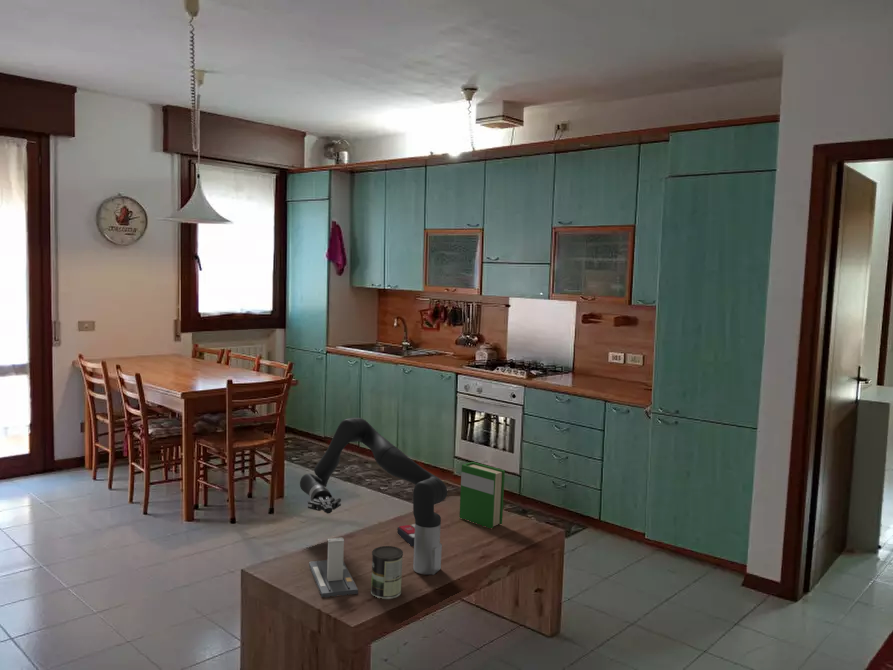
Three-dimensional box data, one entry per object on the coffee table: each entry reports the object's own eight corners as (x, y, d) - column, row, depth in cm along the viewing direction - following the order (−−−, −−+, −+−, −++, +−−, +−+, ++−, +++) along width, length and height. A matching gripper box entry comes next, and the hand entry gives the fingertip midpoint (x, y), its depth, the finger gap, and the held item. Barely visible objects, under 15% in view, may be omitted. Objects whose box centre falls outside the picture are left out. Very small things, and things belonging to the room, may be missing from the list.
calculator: (421, 522, 302) (437, 533, 288) (421, 532, 302) (437, 543, 289) (397, 525, 297) (412, 536, 283) (396, 535, 297) (411, 547, 284)
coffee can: (367, 597, 239) (369, 556, 238) (374, 584, 249) (375, 544, 248) (398, 600, 238) (400, 559, 237) (403, 587, 248) (405, 547, 247)
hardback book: (502, 525, 312) (504, 470, 309) (491, 529, 306) (494, 473, 304) (469, 514, 323) (472, 461, 321) (459, 518, 318) (461, 464, 315)
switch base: (309, 565, 262) (309, 560, 262) (342, 562, 266) (342, 557, 266) (321, 597, 238) (321, 591, 238) (357, 593, 242) (358, 587, 242)
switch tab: (326, 578, 248) (327, 538, 247) (341, 577, 250) (342, 537, 249) (327, 581, 246) (329, 541, 245) (343, 579, 248) (344, 540, 247)
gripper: (303, 488, 276) (310, 502, 260) (337, 485, 280) (347, 499, 264) (302, 507, 277) (310, 522, 260) (337, 504, 281) (346, 519, 265)
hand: (329, 510), depth 262 cm, fingers closed
